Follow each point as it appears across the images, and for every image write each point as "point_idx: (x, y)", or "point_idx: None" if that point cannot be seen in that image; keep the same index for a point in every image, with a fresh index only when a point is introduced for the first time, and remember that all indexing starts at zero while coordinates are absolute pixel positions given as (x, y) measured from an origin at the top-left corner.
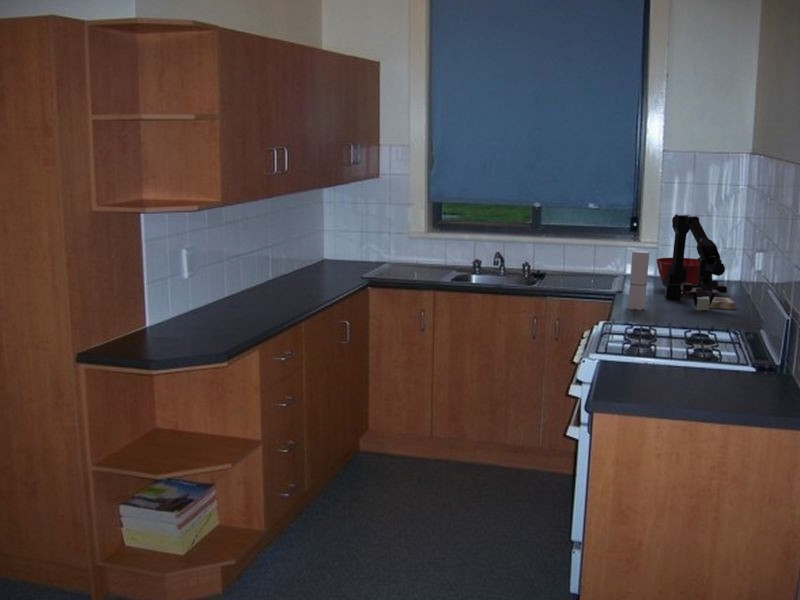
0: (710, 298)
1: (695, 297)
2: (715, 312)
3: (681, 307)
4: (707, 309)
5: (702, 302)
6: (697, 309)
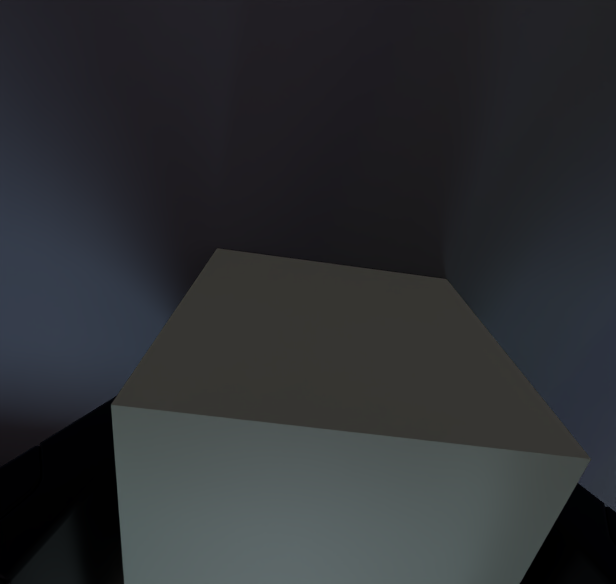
0: (58, 515)
1: None
2: (100, 83)
3: (601, 470)
4: (242, 261)
5: (384, 362)
6: (444, 284)
